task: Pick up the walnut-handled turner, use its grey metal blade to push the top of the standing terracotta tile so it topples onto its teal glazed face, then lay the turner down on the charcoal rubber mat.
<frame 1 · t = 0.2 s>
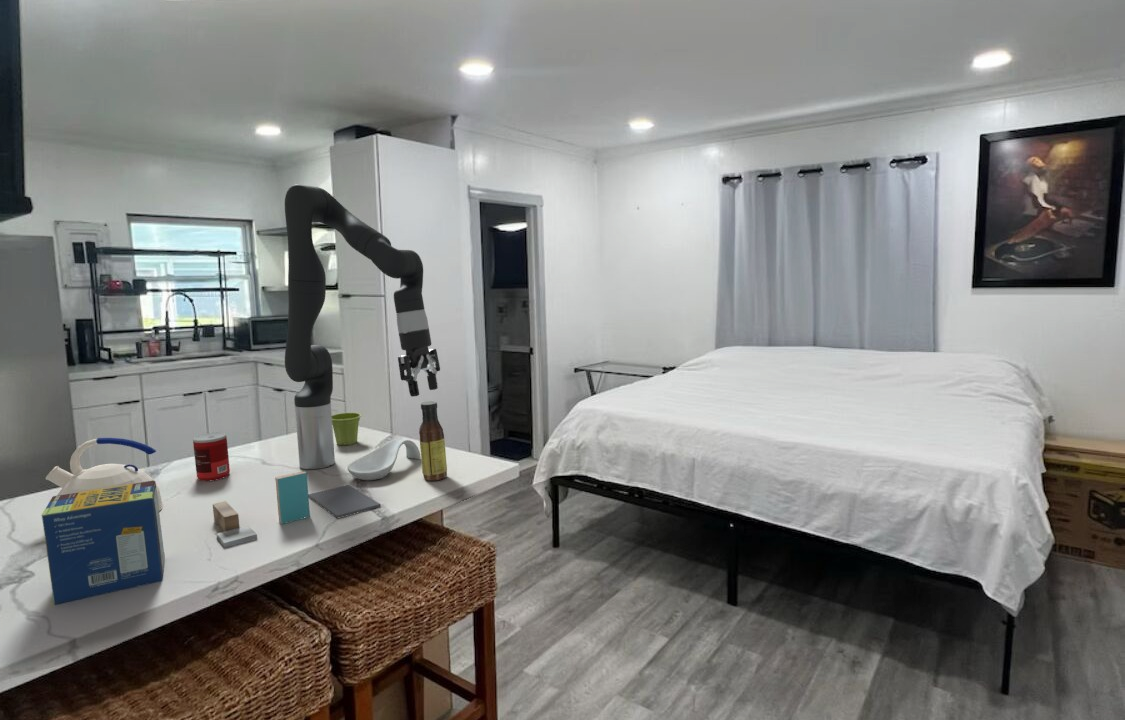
hand: (424, 392, 159), 22 cm above the counter, tool pointing down, fingers open, 8 cm apart
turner: (226, 526, 133), on the counter
protein box: (113, 581, 111), on the counter
sauce bottle: (434, 478, 162), on the counter
canned food: (213, 477, 166), on the counter
plant pot: (347, 443, 197), on the counter
kettle: (109, 517, 140), on the counter
spoon rest: (387, 471, 169), on the counter
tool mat: (343, 501, 146), on the counter
tile: (294, 519, 136), on the counter
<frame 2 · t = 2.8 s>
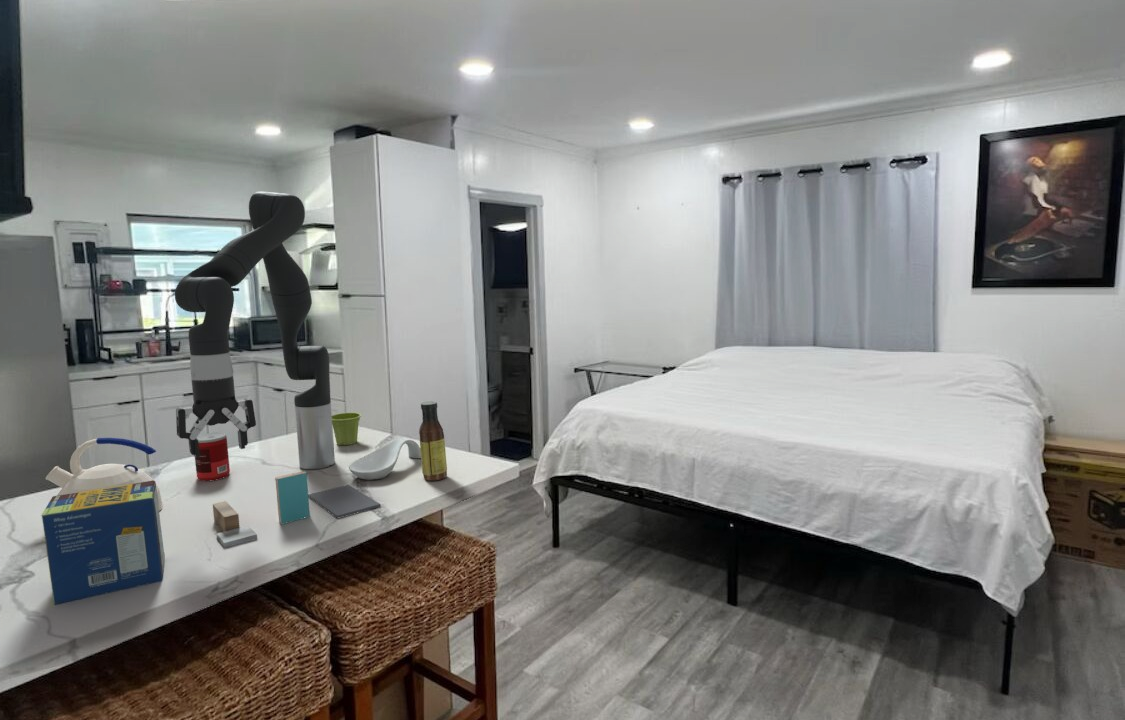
hand: (219, 452, 131), 16 cm above the counter, tool pointing down, fingers open, 8 cm apart
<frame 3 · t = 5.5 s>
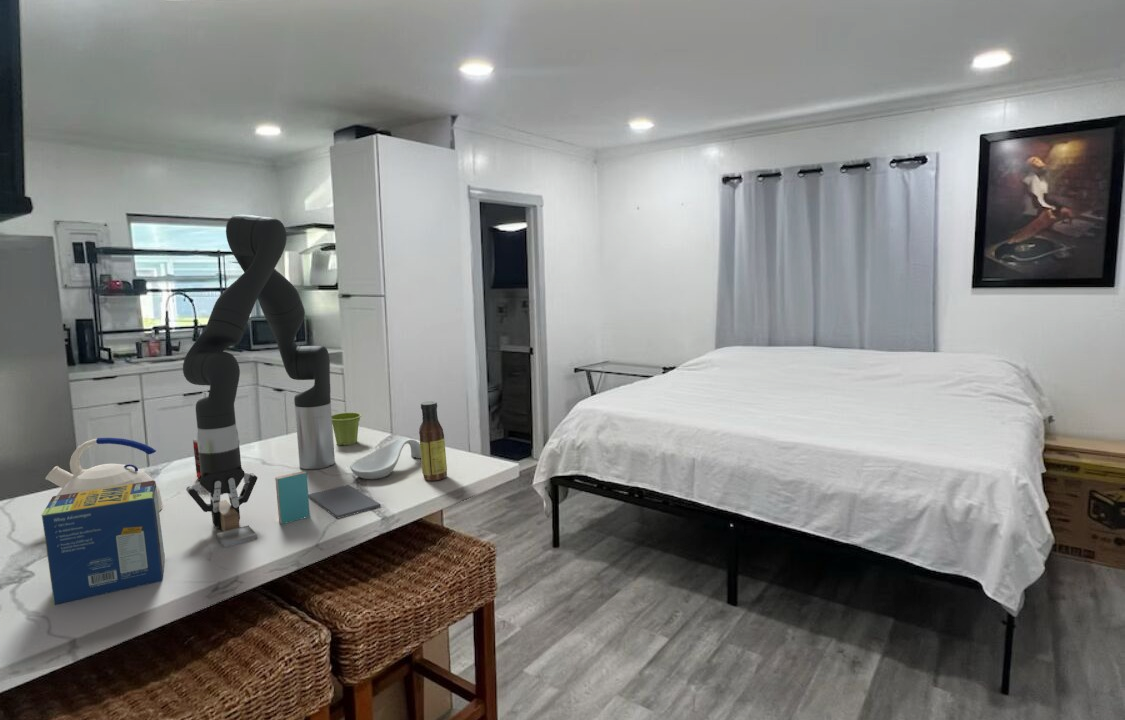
hand: (226, 525, 133), 0 cm above the counter, tool pointing down, fingers closed on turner, 2 cm apart
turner: (226, 526, 133), on the counter, touching gripper
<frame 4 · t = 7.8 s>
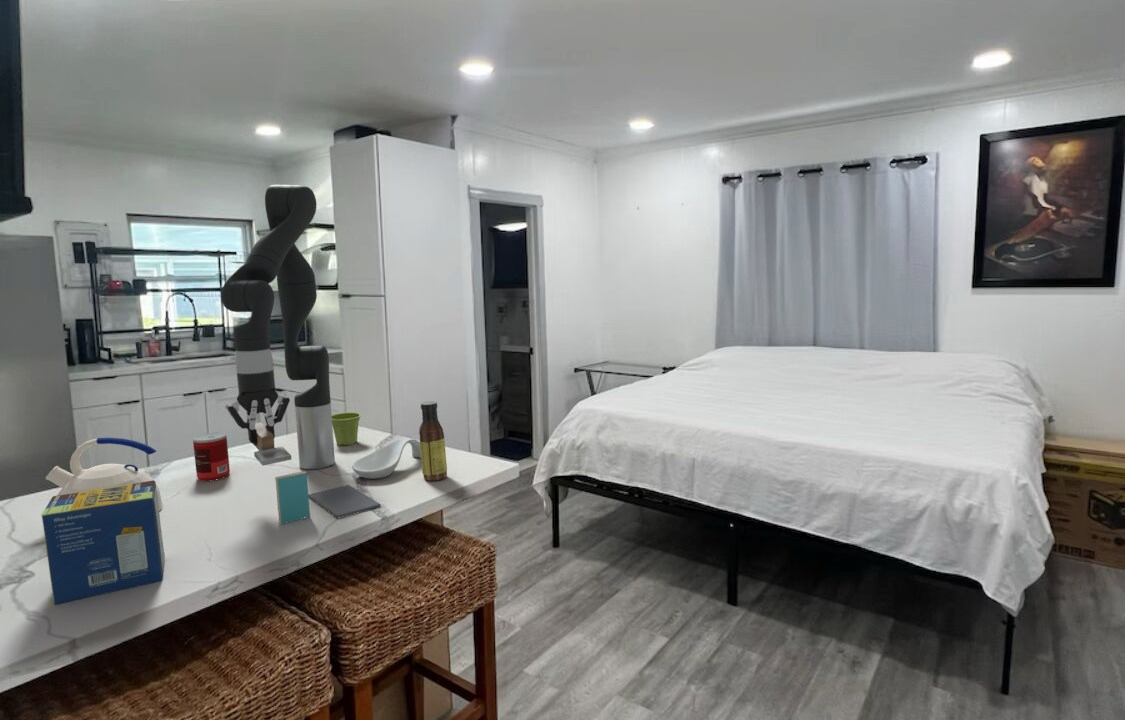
hand: (262, 442, 145), 14 cm above the counter, tool pointing down, fingers closed on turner, 2 cm apart
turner: (262, 445, 145), point 13 cm above the counter, tilted 8°, touching gripper
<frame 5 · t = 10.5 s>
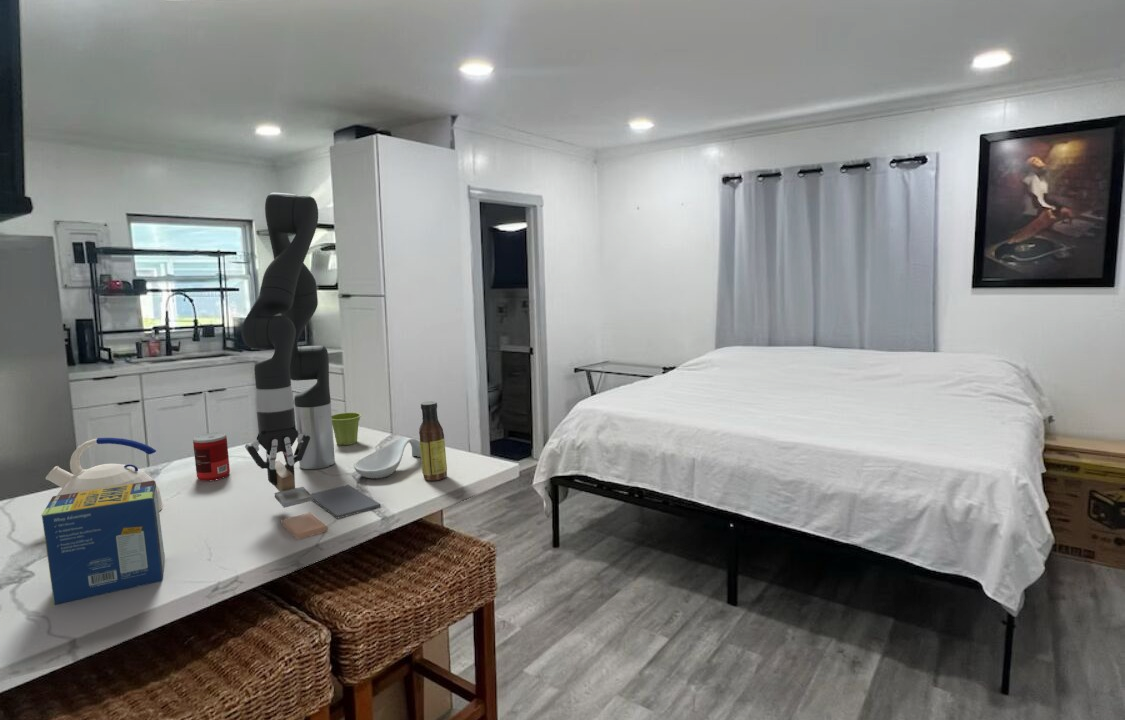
hand: (281, 482, 140), 7 cm above the counter, tool pointing down, fingers closed on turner, 2 cm apart
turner: (281, 485, 141), point 6 cm above the counter, tilted 6°, touching gripper
tile: (296, 519, 136), on the counter, tilted 90°
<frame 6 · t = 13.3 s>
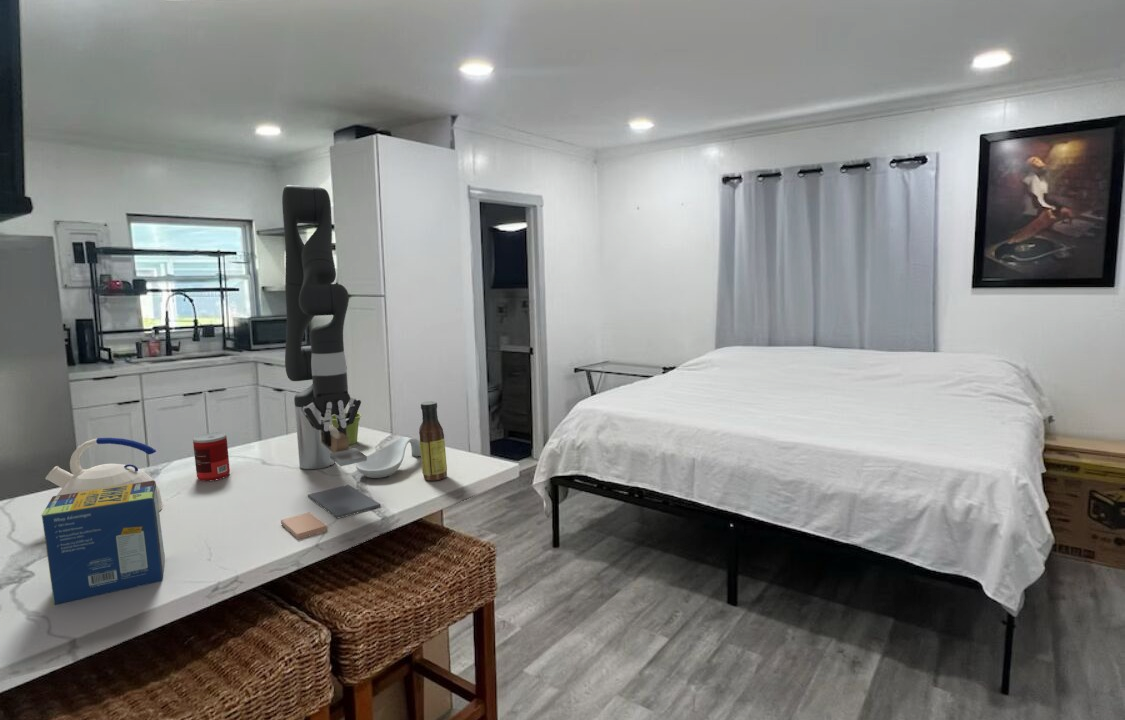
hand: (334, 444, 147), 13 cm above the counter, tool pointing down, fingers closed on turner, 2 cm apart
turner: (334, 447, 147), point 12 cm above the counter, tilted 7°, touching gripper
when the fingers open (2 cm above the counter, at t = 15.8 s): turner drops 1 cm, resting on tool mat.
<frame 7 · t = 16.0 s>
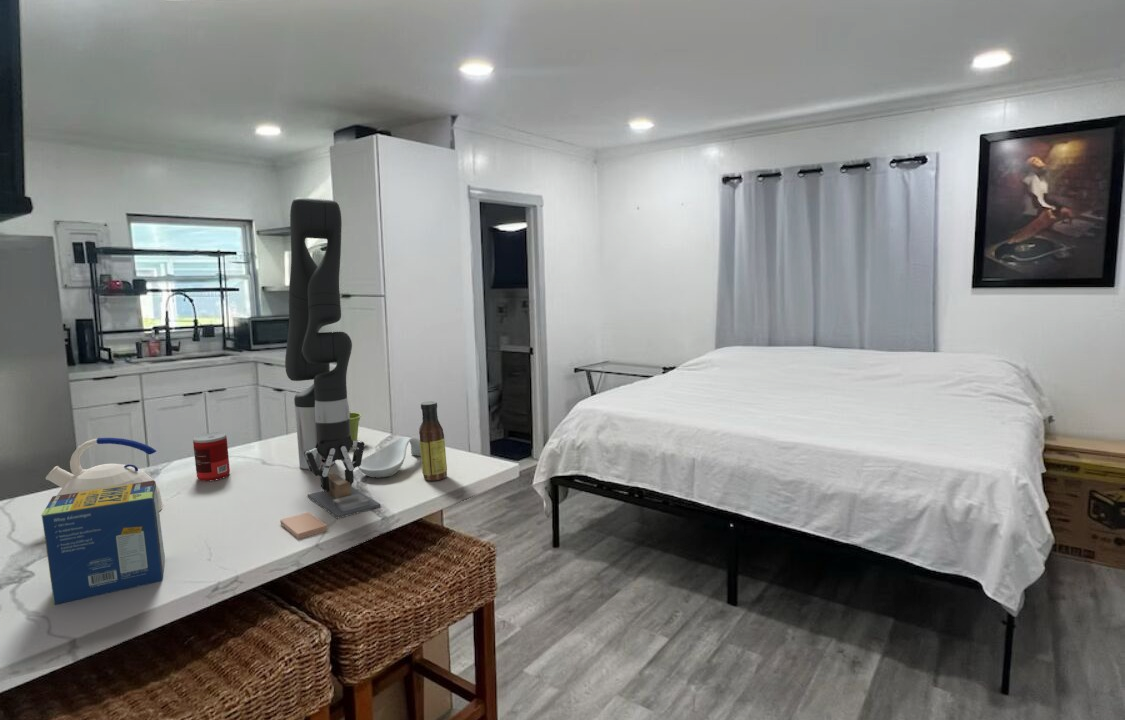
hand: (337, 487, 148), 3 cm above the counter, tool pointing down, fingers open, 4 cm apart
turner: (337, 495, 149), point 1 cm above the counter, touching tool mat
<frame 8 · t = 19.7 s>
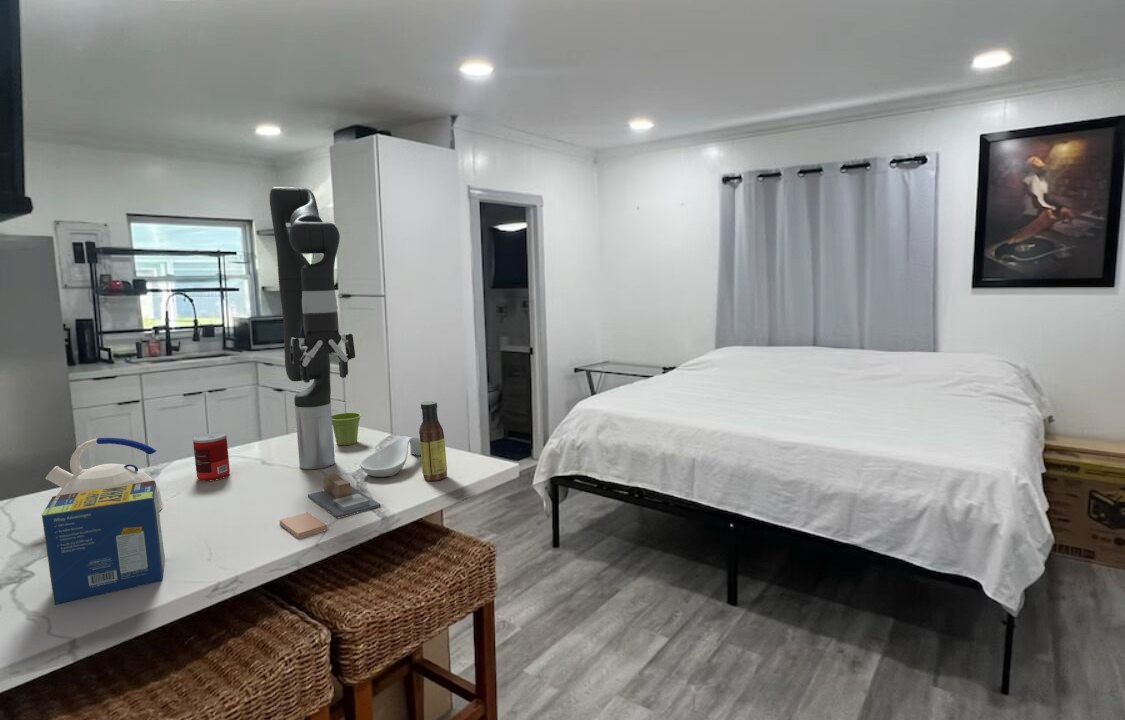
hand: (325, 379, 147), 28 cm above the counter, tool pointing down, fingers open, 8 cm apart
at the end: tile tilted 90°; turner inside the target area on the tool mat (0.4 cm from its centre), point 0.6 cm above the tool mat's base; the gripper is holding nothing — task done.
